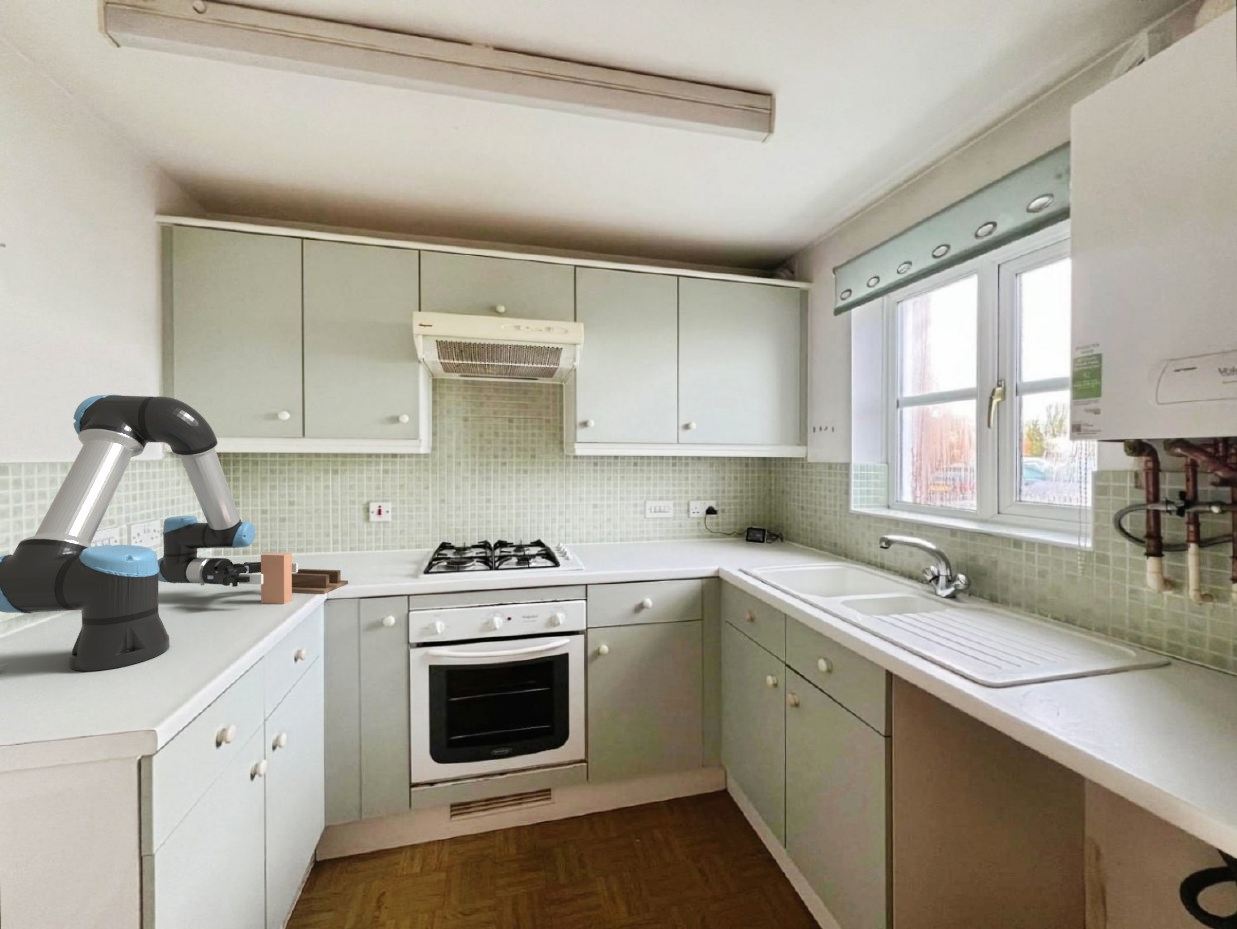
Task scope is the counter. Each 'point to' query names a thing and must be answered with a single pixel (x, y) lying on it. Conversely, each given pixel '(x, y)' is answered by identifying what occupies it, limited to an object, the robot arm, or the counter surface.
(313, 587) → the slot rack
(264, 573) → the salmon orange block
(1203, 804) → the counter surface
